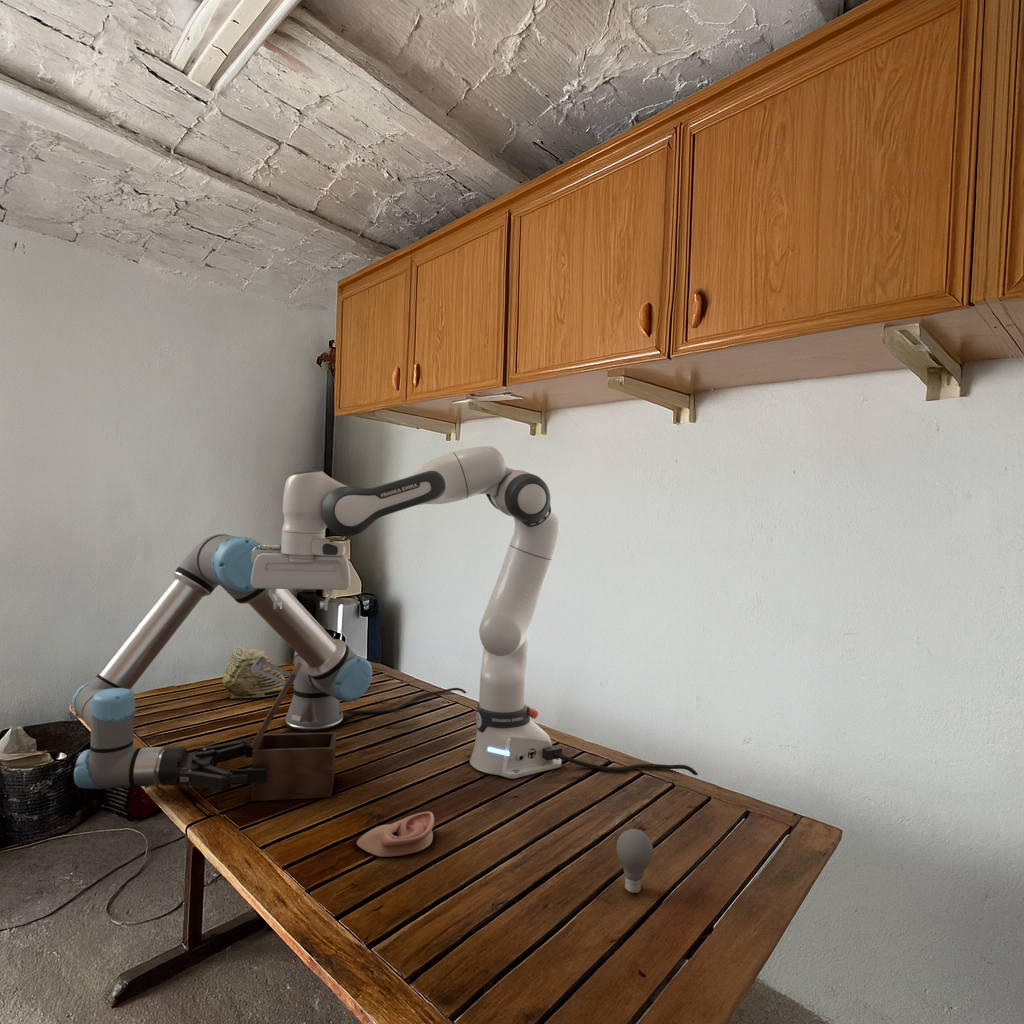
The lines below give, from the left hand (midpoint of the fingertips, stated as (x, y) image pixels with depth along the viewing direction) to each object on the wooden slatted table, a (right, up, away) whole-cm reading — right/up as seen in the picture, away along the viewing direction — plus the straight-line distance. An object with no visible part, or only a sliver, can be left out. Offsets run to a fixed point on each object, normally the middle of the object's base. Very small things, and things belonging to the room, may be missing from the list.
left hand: (272, 762), depth 136 cm
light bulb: (+71, -10, -30) cm, 78 cm away
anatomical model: (+30, -8, -18) cm, 36 cm away
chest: (+4, -6, +1) cm, 8 cm away
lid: (+2, +12, 0) cm, 12 cm away
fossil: (-29, -4, +63) cm, 69 cm away
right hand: (+6, +33, 0) cm, 33 cm away
